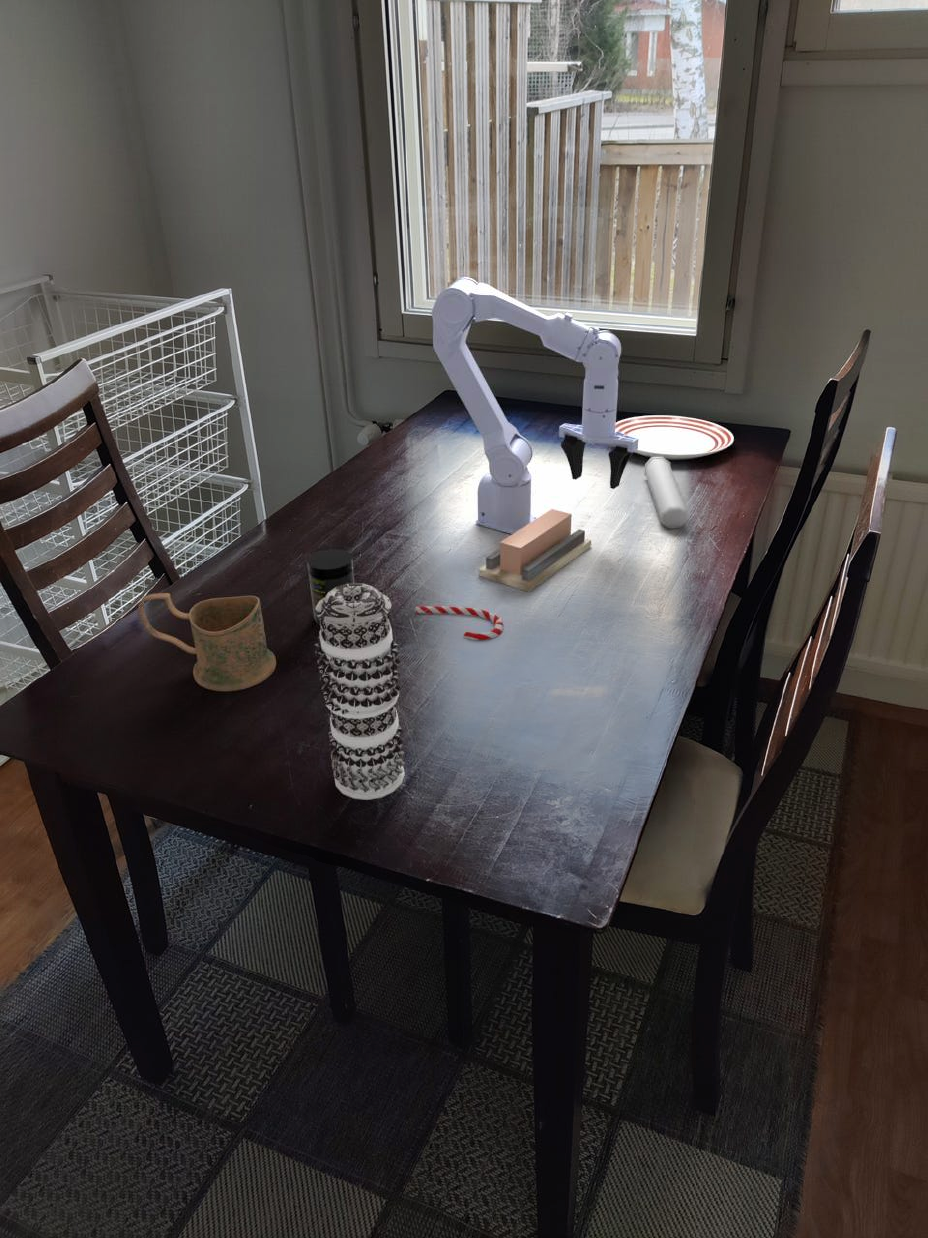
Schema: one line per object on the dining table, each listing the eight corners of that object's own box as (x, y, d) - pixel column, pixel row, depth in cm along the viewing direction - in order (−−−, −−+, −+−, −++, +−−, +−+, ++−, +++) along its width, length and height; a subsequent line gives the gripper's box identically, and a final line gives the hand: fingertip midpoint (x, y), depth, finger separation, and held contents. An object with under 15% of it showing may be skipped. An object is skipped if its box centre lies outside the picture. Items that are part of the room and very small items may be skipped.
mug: (166, 646, 137) (150, 575, 131) (283, 646, 136) (273, 574, 130) (140, 691, 127) (121, 616, 121) (266, 691, 126) (254, 616, 120)
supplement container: (347, 633, 139) (340, 571, 134) (306, 626, 141) (299, 566, 135) (364, 611, 144) (359, 551, 139) (325, 605, 146) (319, 546, 141)
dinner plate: (640, 419, 222) (641, 405, 220) (750, 439, 208) (753, 425, 206) (584, 453, 203) (585, 438, 201) (701, 478, 189) (703, 463, 187)
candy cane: (423, 596, 146) (511, 614, 141) (424, 603, 147) (511, 621, 142) (401, 620, 140) (492, 639, 135) (402, 627, 141) (492, 646, 136)
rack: (478, 575, 154) (478, 558, 152) (542, 532, 168) (543, 516, 166) (529, 591, 149) (529, 574, 147) (590, 546, 162) (591, 529, 161)
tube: (695, 512, 165) (674, 460, 186) (667, 503, 164) (650, 452, 186) (683, 537, 168) (664, 483, 189) (655, 529, 167) (639, 476, 188)
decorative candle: (316, 792, 108) (291, 608, 95) (352, 745, 116) (333, 568, 103) (387, 810, 105) (371, 622, 92) (419, 761, 113) (408, 581, 100)
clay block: (500, 569, 153) (500, 542, 150) (551, 534, 164) (551, 508, 161) (520, 575, 151) (520, 548, 148) (570, 540, 162) (571, 514, 159)
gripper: (550, 406, 157) (548, 480, 164) (626, 421, 150) (621, 498, 157) (572, 395, 162) (569, 468, 169) (646, 409, 155) (640, 485, 161)
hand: (595, 482), depth 163 cm, fingers open, 7 cm apart
